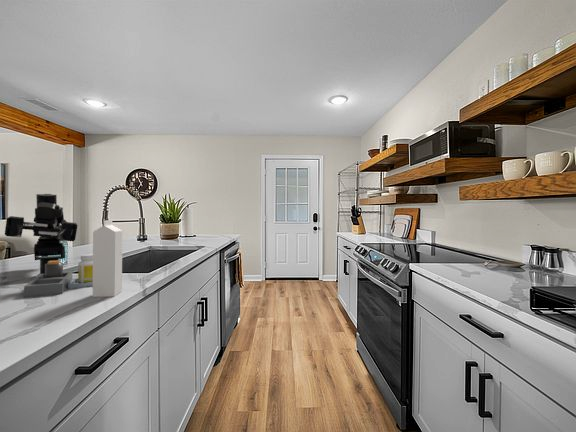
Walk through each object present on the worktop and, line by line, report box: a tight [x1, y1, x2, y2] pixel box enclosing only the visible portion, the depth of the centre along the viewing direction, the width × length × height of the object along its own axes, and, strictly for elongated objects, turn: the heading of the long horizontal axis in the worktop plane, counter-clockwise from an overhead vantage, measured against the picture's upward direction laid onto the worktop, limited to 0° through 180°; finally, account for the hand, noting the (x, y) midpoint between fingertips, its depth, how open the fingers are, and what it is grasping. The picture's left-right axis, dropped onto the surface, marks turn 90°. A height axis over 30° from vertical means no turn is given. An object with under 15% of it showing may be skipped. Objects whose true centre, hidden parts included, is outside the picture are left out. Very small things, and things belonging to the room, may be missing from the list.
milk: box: [92, 219, 123, 298], centre depth 95 cm, size 6×6×22 cm
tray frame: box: [67, 278, 93, 289], centre depth 108 cm, size 10×10×1 cm
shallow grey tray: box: [23, 259, 73, 298], centre depth 101 cm, size 20×9×8 cm, turn 27°
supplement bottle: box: [77, 253, 93, 283], centre depth 108 cm, size 5×5×10 cm
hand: (39, 235), depth 99 cm, fingers open, 9 cm apart
